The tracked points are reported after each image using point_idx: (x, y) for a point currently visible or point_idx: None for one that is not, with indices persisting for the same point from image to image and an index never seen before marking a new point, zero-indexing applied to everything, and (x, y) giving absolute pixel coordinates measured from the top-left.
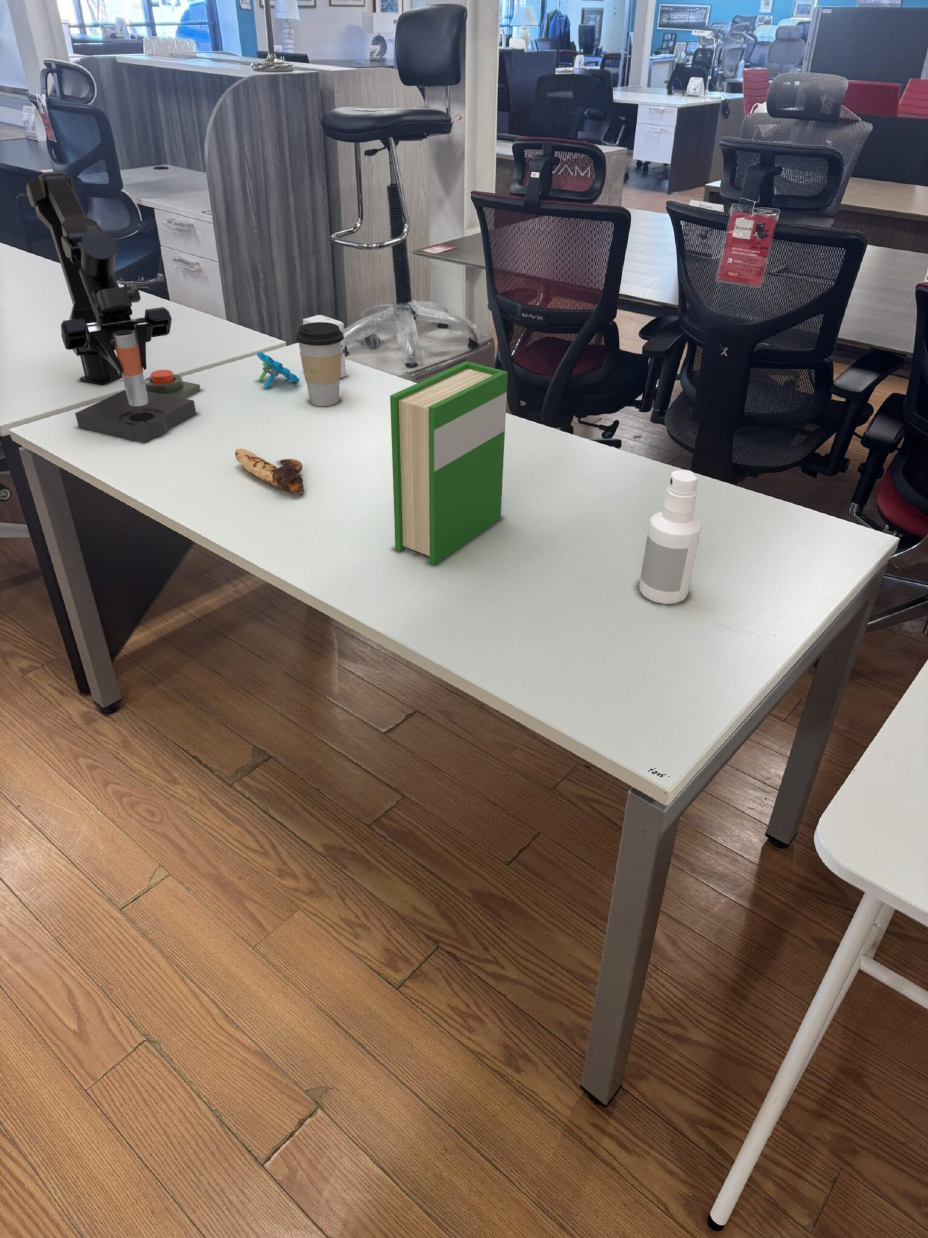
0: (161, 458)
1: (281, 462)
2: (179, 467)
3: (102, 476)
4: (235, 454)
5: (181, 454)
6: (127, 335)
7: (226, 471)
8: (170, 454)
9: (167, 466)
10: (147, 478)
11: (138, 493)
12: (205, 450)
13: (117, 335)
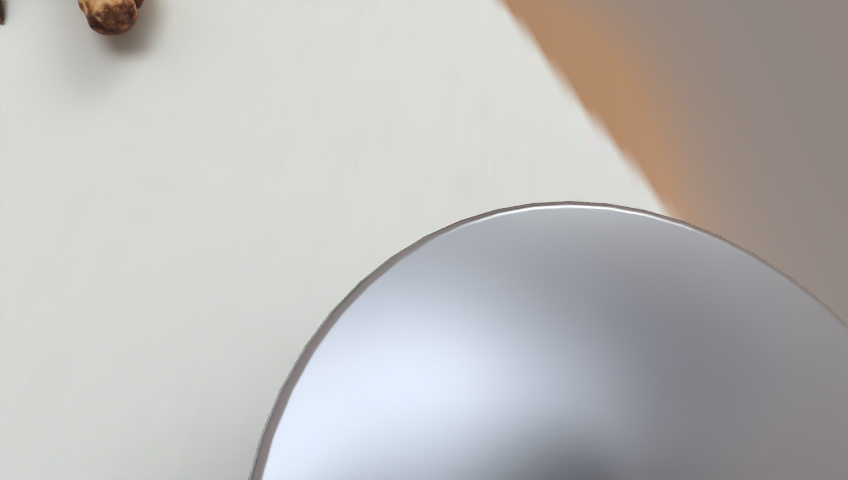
0: (385, 196)
1: (3, 10)
2: (337, 107)
3: (597, 136)
4: (134, 2)
5: (304, 202)
6: (503, 216)
7: (199, 32)
8: (345, 217)
9: (375, 128)
10: (452, 74)
11: (486, 5)
12: (204, 202)
13: (783, 274)
